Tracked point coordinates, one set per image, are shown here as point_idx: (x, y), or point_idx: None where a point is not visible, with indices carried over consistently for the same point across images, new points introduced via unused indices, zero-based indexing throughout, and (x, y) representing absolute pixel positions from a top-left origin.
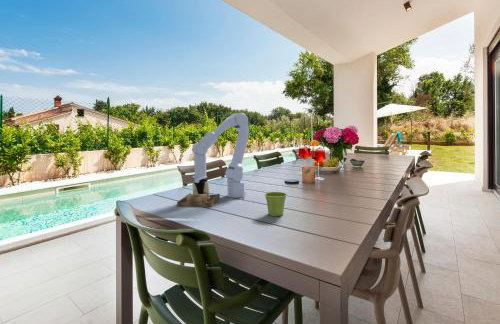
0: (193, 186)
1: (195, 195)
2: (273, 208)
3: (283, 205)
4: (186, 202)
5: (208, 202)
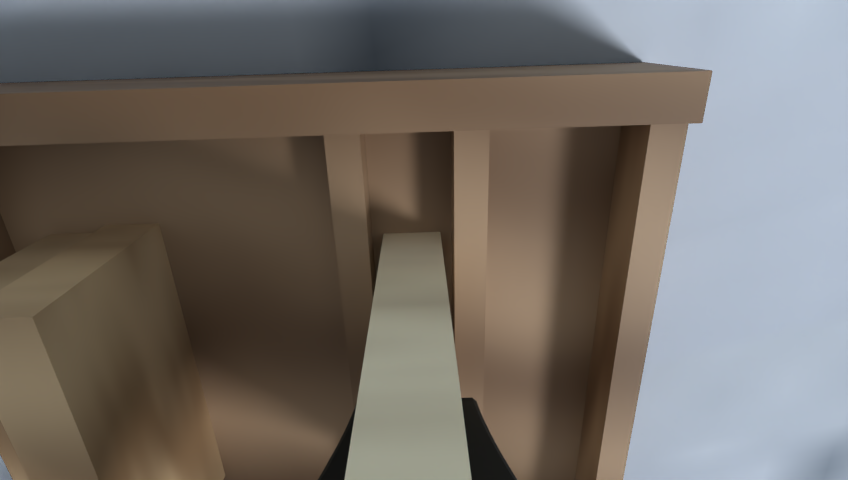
0: (353, 463)
1: (41, 474)
2: None
3: None
4: (212, 163)
5: (295, 475)
